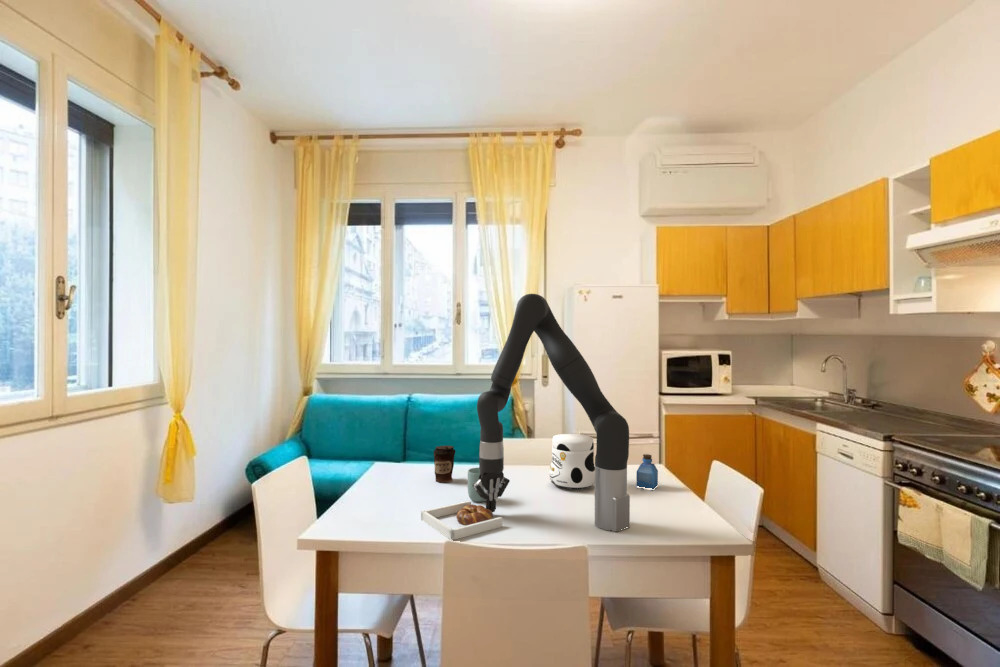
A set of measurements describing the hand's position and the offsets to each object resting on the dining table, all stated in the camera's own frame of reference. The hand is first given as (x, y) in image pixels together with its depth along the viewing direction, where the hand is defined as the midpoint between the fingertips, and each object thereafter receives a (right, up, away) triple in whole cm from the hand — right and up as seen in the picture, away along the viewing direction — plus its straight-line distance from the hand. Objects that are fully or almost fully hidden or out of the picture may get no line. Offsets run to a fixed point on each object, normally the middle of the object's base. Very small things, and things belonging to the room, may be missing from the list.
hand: (491, 511), depth 145 cm
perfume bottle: (+58, -3, +30) cm, 65 cm away
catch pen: (-8, -1, -6) cm, 10 cm away
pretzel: (-5, -2, -4) cm, 6 cm away
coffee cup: (-19, -2, +36) cm, 40 cm away
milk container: (+30, -2, +31) cm, 43 cm away
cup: (-4, -2, +14) cm, 15 cm away
